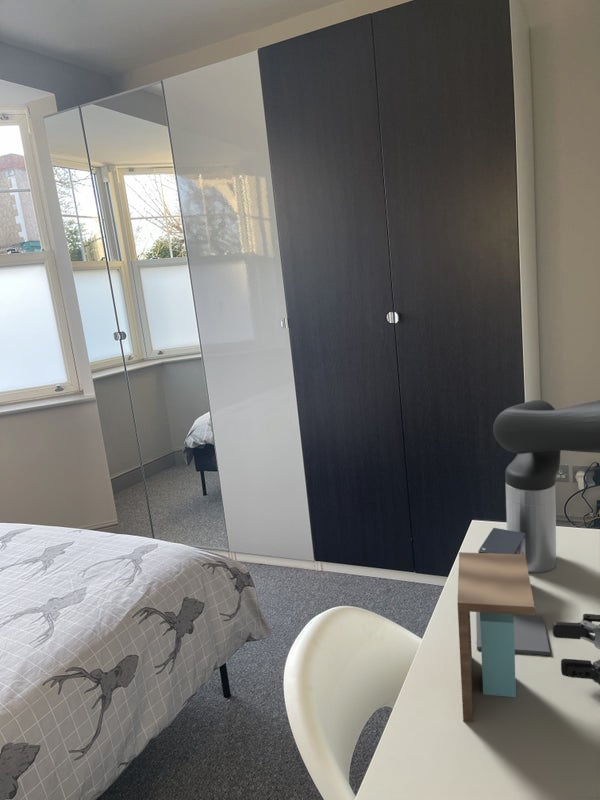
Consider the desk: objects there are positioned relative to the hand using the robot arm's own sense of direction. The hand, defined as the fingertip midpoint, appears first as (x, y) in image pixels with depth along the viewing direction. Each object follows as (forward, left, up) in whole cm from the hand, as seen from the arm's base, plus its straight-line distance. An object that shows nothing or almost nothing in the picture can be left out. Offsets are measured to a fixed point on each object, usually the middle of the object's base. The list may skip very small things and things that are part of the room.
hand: (557, 647), depth 86 cm
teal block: (0, -8, -7) cm, 11 cm away
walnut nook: (+1, -8, -7) cm, 11 cm away
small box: (-26, -6, -7) cm, 28 cm away
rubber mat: (-13, -6, -7) cm, 16 cm away
